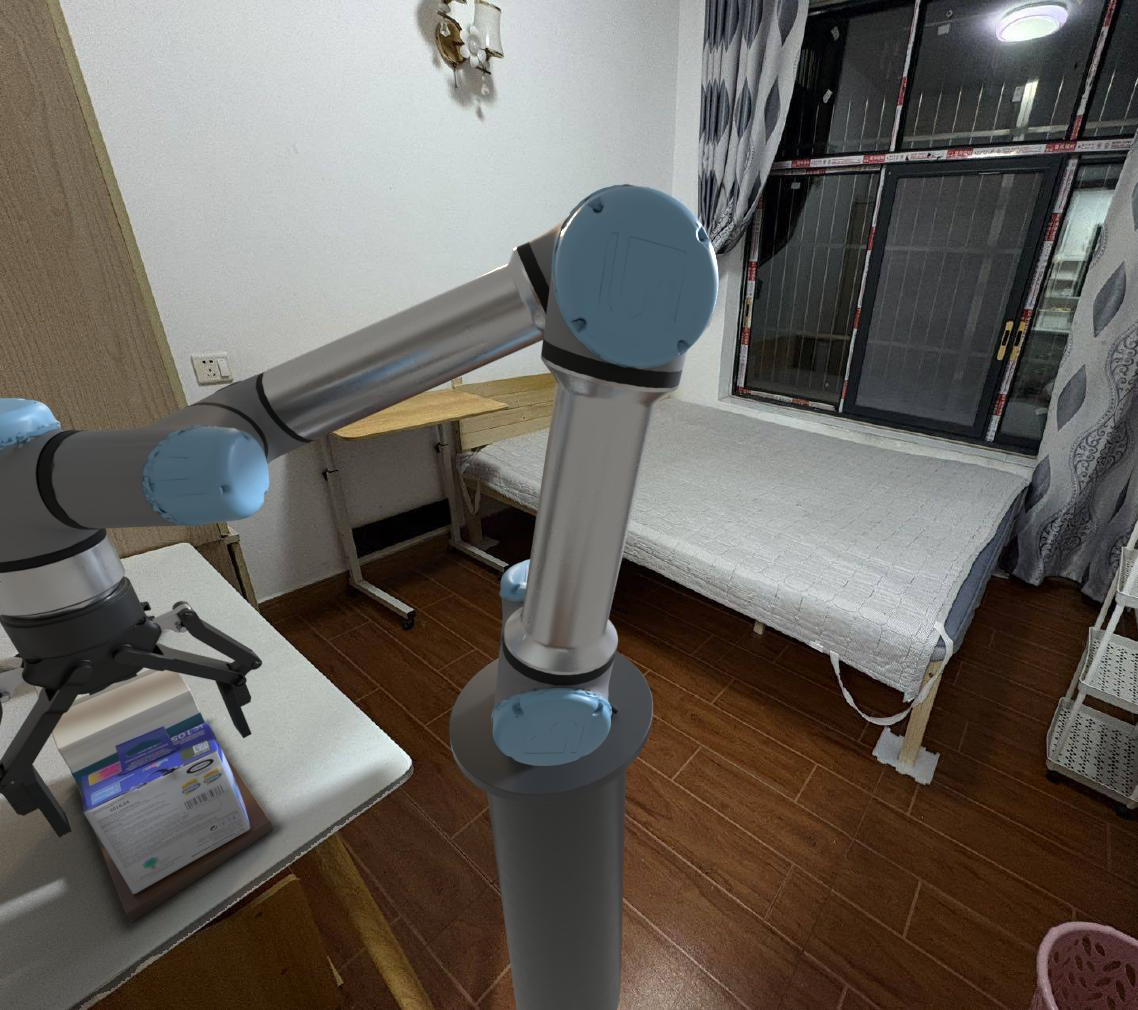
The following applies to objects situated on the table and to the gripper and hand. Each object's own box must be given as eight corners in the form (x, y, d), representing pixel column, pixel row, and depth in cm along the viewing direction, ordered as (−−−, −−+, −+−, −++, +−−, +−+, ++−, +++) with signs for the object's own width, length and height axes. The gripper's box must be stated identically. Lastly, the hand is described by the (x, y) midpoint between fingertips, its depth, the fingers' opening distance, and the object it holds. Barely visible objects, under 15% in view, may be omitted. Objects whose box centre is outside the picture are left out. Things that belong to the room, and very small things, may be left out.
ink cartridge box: (242, 795, 63) (202, 702, 57) (255, 828, 60) (214, 733, 53) (126, 856, 56) (66, 758, 50) (132, 897, 53) (70, 797, 47)
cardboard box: (274, 829, 61) (234, 729, 54) (131, 923, 52) (63, 817, 46) (204, 724, 73) (164, 632, 67) (79, 786, 64) (18, 687, 58)
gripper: (231, 525, 55) (287, 683, 64) (-206, 653, 37) (-42, 848, 46) (261, 549, 51) (315, 715, 60) (-214, 706, 33) (-32, 908, 42)
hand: (161, 773), depth 53 cm, fingers open, 13 cm apart
